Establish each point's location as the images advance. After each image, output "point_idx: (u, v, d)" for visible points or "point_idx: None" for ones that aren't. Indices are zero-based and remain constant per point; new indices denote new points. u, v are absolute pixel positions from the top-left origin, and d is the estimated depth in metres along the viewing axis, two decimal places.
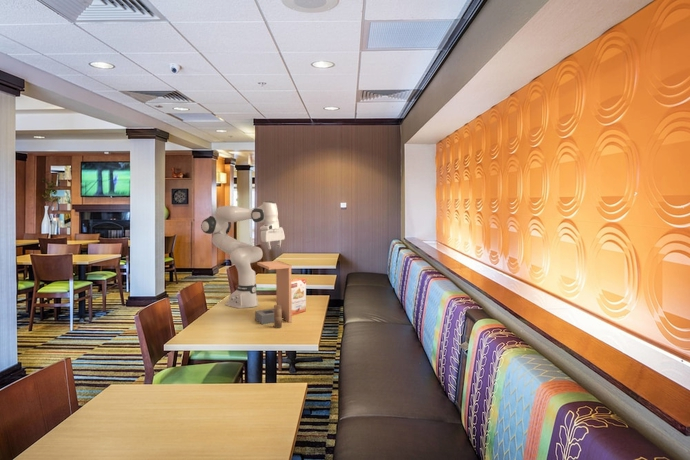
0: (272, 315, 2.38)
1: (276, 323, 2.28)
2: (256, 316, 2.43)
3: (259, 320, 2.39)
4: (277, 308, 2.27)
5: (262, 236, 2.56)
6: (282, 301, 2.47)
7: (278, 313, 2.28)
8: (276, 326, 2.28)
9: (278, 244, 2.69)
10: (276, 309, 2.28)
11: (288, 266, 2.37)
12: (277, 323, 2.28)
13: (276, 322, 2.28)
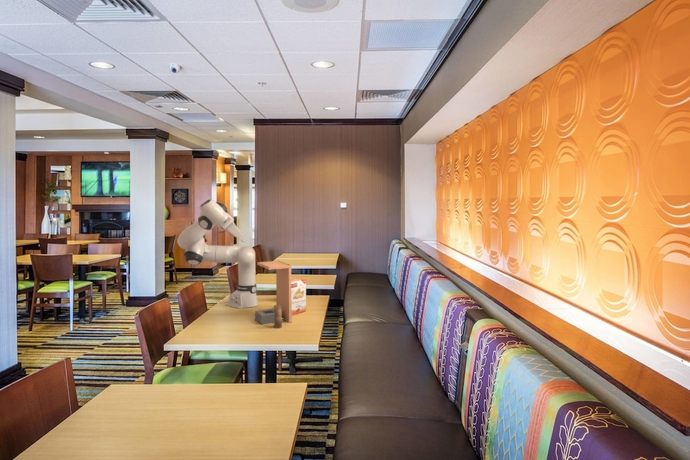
0: (272, 315, 2.38)
1: (276, 323, 2.28)
2: (256, 316, 2.43)
3: (259, 320, 2.39)
4: (277, 308, 2.27)
5: (233, 231, 2.19)
6: (282, 301, 2.47)
7: (278, 313, 2.28)
8: (276, 326, 2.28)
9: (241, 239, 2.35)
10: (276, 309, 2.28)
11: (288, 266, 2.37)
12: (277, 323, 2.28)
13: (276, 322, 2.28)
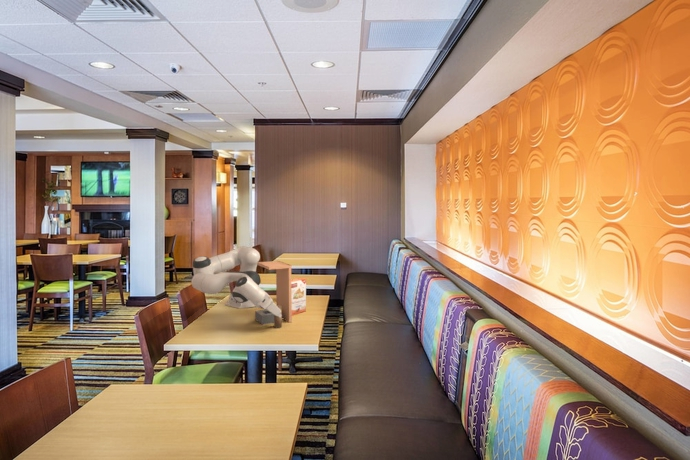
0: (272, 315, 2.38)
1: (276, 323, 2.28)
2: (256, 316, 2.43)
3: (259, 320, 2.39)
4: None
5: (274, 310, 2.18)
6: (282, 301, 2.47)
7: None
8: (276, 326, 2.28)
9: None
10: None
11: (288, 266, 2.37)
12: (277, 323, 2.28)
13: (276, 322, 2.28)
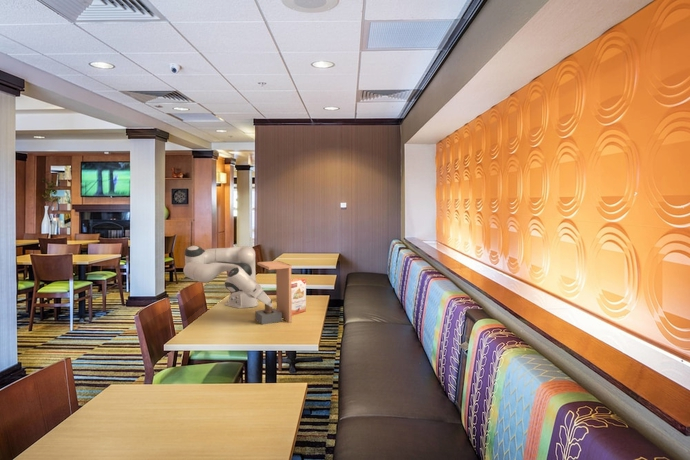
0: (272, 315, 2.38)
1: None
2: (256, 316, 2.43)
3: (259, 320, 2.39)
4: None
5: (264, 299, 2.31)
6: (282, 301, 2.47)
7: (268, 307, 2.41)
8: None
9: None
10: None
11: (288, 266, 2.37)
12: None
13: None
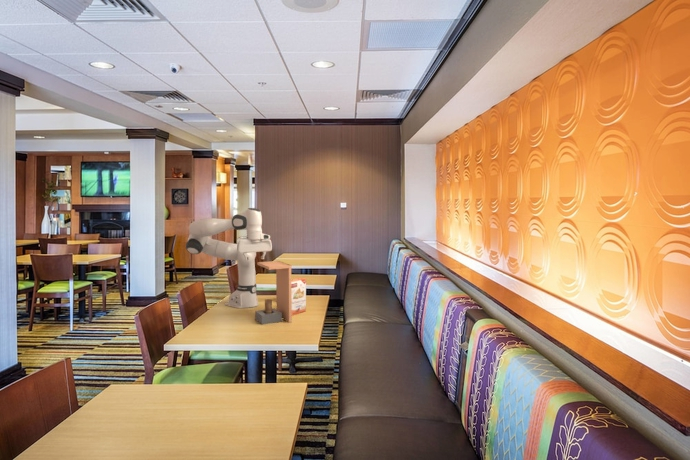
0: (272, 315, 2.38)
1: None
2: (256, 316, 2.43)
3: (259, 320, 2.39)
4: (267, 302, 2.40)
5: None
6: (282, 301, 2.47)
7: (268, 307, 2.41)
8: None
9: (246, 256, 2.41)
10: (266, 303, 2.41)
11: (288, 266, 2.37)
12: None
13: None
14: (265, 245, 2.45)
